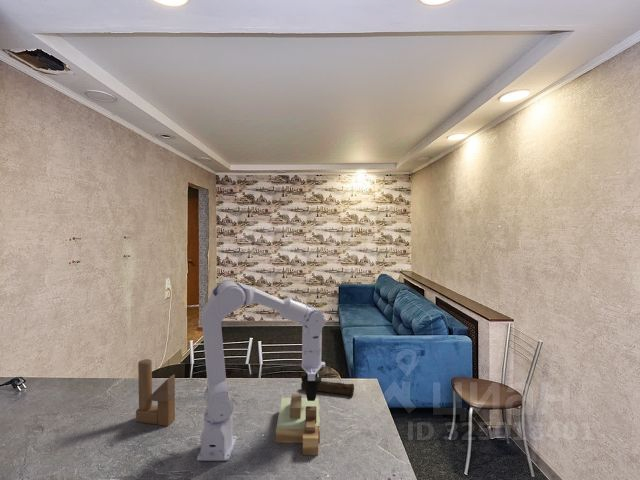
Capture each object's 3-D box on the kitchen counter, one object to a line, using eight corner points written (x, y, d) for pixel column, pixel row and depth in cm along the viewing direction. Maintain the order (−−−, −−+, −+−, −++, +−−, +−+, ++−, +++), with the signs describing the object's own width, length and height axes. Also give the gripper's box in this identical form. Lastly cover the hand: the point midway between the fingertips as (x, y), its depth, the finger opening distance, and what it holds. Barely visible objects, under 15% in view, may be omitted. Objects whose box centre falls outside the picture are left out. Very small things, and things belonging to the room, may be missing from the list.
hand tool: (354, 393, 124) (354, 380, 123) (353, 398, 120) (353, 385, 120) (303, 386, 128) (303, 374, 128) (300, 391, 124) (300, 378, 124)
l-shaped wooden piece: (316, 431, 92) (316, 418, 92) (305, 431, 92) (305, 418, 92) (316, 418, 98) (316, 406, 98) (305, 418, 98) (305, 406, 98)
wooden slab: (320, 455, 90) (320, 438, 90) (273, 454, 90) (273, 438, 90) (319, 410, 111) (319, 397, 111) (281, 410, 111) (281, 396, 111)
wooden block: (168, 426, 101) (167, 366, 101) (135, 422, 104) (134, 363, 103) (175, 419, 105) (175, 361, 104) (144, 415, 107) (143, 358, 106)
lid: (319, 429, 95) (319, 415, 95) (276, 429, 95) (276, 415, 95) (318, 400, 111) (318, 388, 110) (281, 400, 110) (282, 388, 110)
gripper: (326, 358, 95) (325, 406, 96) (324, 340, 110) (324, 382, 110) (300, 358, 95) (299, 406, 96) (302, 340, 110) (301, 382, 110)
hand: (311, 393), depth 103 cm, fingers open, 7 cm apart
